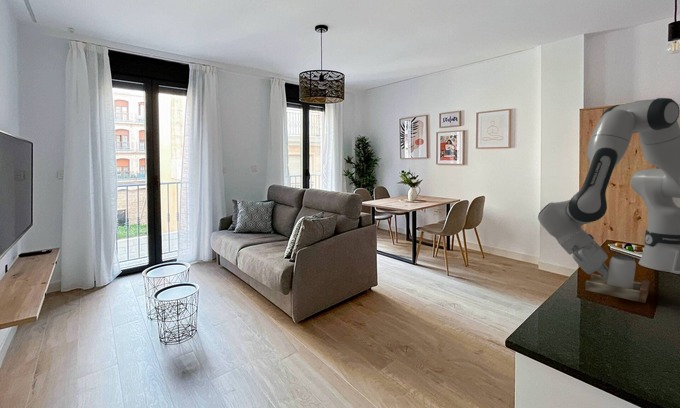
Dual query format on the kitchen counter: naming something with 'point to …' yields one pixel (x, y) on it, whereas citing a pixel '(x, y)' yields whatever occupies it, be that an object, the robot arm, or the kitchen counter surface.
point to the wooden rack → (618, 289)
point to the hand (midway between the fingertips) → (610, 277)
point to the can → (621, 271)
